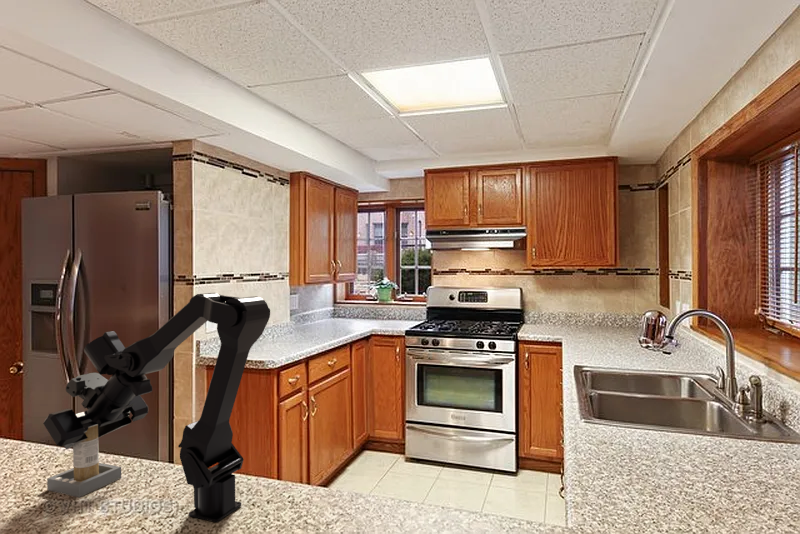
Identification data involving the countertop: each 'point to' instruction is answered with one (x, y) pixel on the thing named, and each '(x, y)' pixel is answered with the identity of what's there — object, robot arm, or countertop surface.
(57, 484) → the dish
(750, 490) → the countertop surface
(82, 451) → the sprinkles bottle
